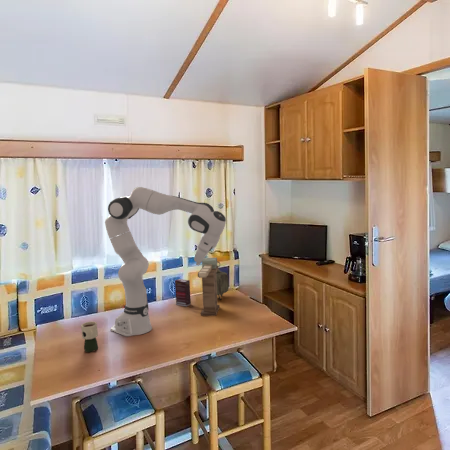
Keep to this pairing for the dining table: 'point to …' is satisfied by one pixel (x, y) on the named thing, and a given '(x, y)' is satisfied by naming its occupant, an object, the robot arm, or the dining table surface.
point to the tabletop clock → (221, 282)
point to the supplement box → (182, 292)
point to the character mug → (89, 336)
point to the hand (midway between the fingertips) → (201, 259)
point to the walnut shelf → (210, 294)
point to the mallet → (207, 266)
